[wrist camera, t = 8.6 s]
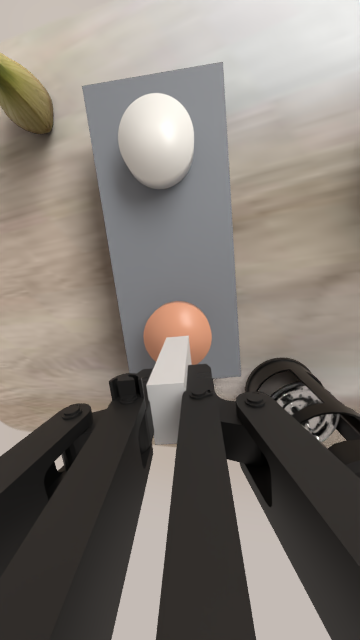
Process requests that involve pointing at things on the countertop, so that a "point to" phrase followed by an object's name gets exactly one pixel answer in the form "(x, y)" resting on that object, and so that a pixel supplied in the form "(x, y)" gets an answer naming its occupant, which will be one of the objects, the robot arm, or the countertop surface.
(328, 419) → the french press
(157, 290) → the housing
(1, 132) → the countertop surface
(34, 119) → the fennel bulb
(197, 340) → the orange ball knob
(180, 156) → the white rounded knob
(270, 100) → the countertop surface
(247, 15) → the countertop surface
